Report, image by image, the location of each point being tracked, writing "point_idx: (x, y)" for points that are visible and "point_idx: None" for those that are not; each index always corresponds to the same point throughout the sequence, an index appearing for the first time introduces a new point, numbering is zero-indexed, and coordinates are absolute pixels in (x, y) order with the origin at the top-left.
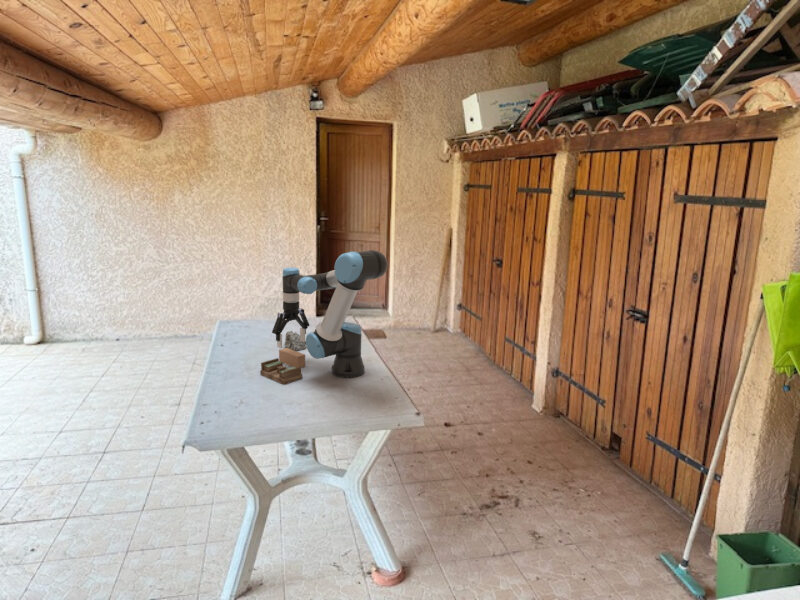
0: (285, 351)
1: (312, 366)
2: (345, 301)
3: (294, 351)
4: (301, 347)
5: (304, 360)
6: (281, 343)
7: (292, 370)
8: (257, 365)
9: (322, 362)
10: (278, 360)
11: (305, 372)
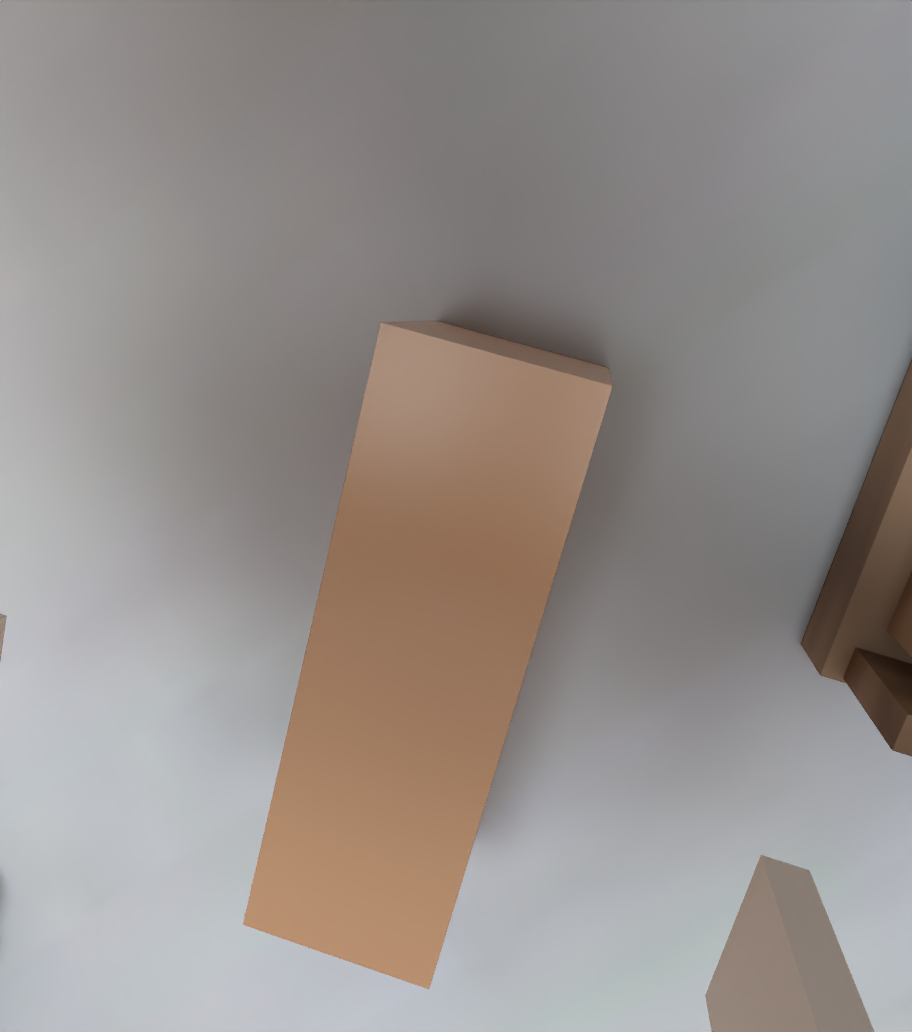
0: (443, 827)
1: (381, 188)
2: None
3: (340, 661)
4: None
5: (429, 327)
6: (814, 963)
7: None
8: None
9: (115, 157)
10: (901, 696)
11: (728, 94)
